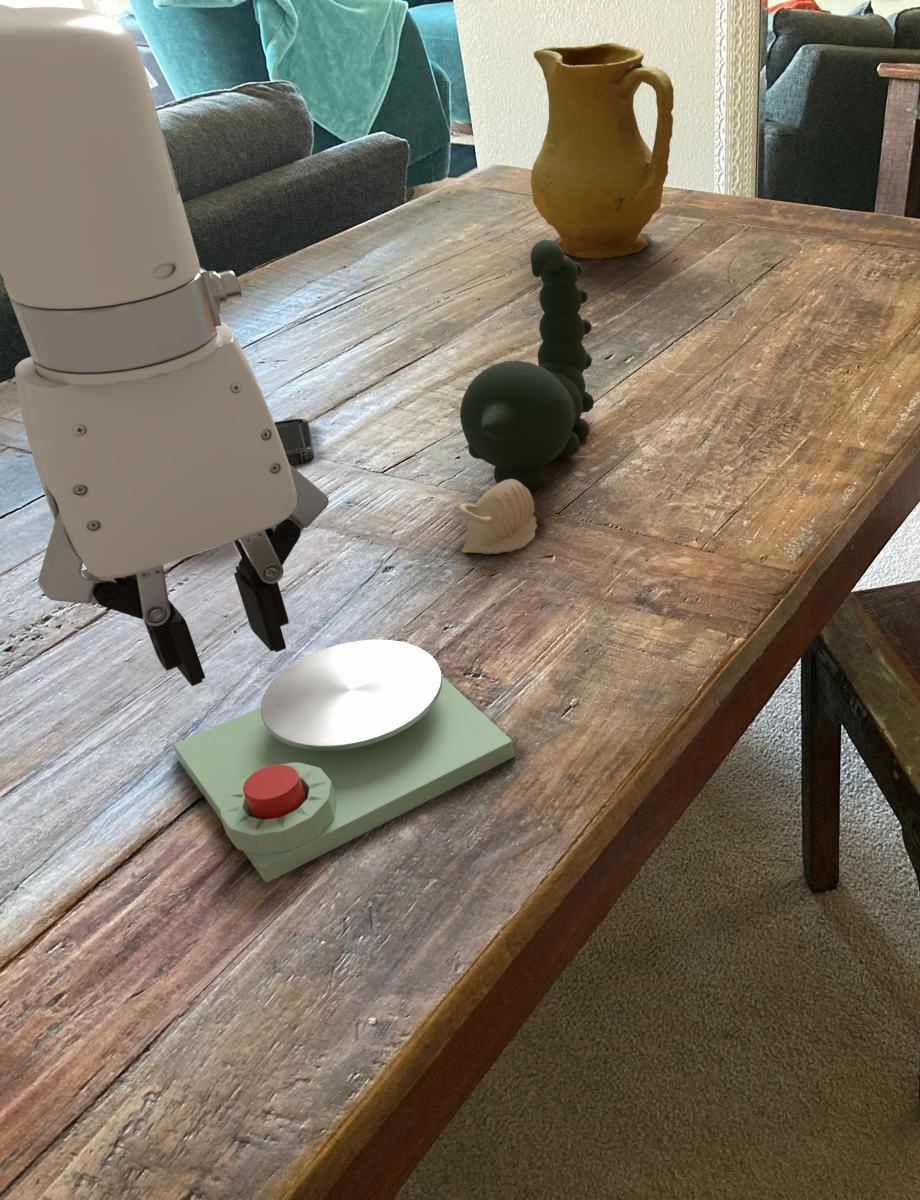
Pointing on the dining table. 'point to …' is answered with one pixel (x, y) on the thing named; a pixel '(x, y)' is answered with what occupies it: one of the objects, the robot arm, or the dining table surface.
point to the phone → (296, 440)
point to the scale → (338, 778)
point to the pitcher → (600, 149)
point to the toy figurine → (535, 384)
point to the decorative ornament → (500, 519)
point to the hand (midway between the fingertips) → (229, 652)
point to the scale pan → (351, 695)
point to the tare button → (274, 791)
